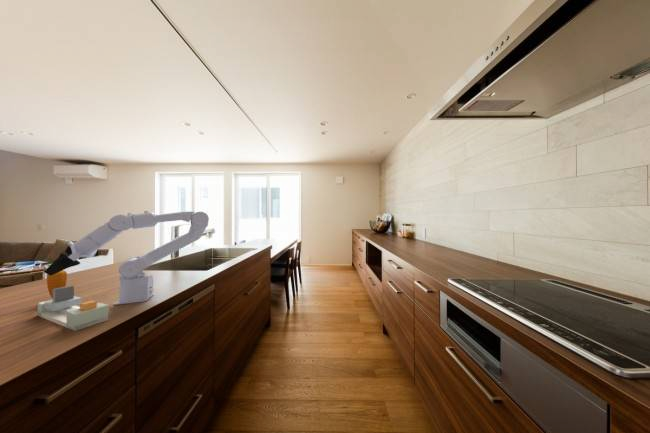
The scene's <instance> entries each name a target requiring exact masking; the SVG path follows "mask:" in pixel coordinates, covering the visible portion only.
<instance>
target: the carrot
mask: <svg viewBox="0 0 650 433" xmlns="http://www.w3.org/2000/svg"><path fill="white" fill-rule="evenodd" d="M51 264H52V263H49V264H47V265H46V266H47V267H49V266H50V265H51ZM67 276H68V273H67V271H66V270H65V269H64V270H62V271H60V272H58V273H56V274H54V275H51V276H50V275H48V274H46V285H47V289H48V293H49V295H50V297H51V298H52V299H53V289H55V288H60V287H65V286H67V280H68V279H67Z"/></svg>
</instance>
